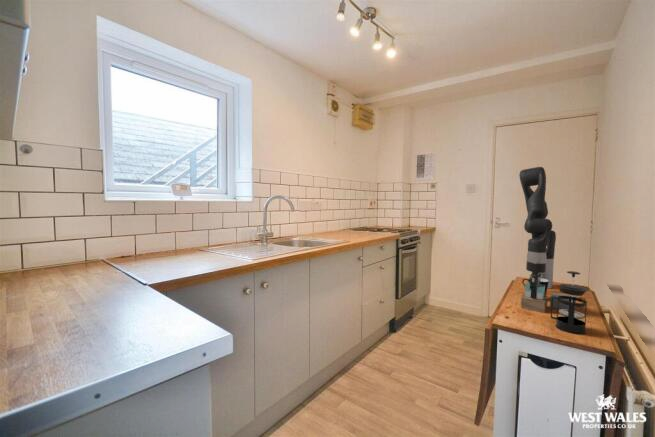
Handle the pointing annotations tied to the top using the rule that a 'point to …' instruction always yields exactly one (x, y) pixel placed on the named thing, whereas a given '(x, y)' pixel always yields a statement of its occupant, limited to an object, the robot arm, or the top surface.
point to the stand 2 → (560, 305)
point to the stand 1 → (534, 304)
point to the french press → (571, 308)
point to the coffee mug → (543, 282)
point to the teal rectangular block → (539, 291)
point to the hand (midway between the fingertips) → (534, 296)
